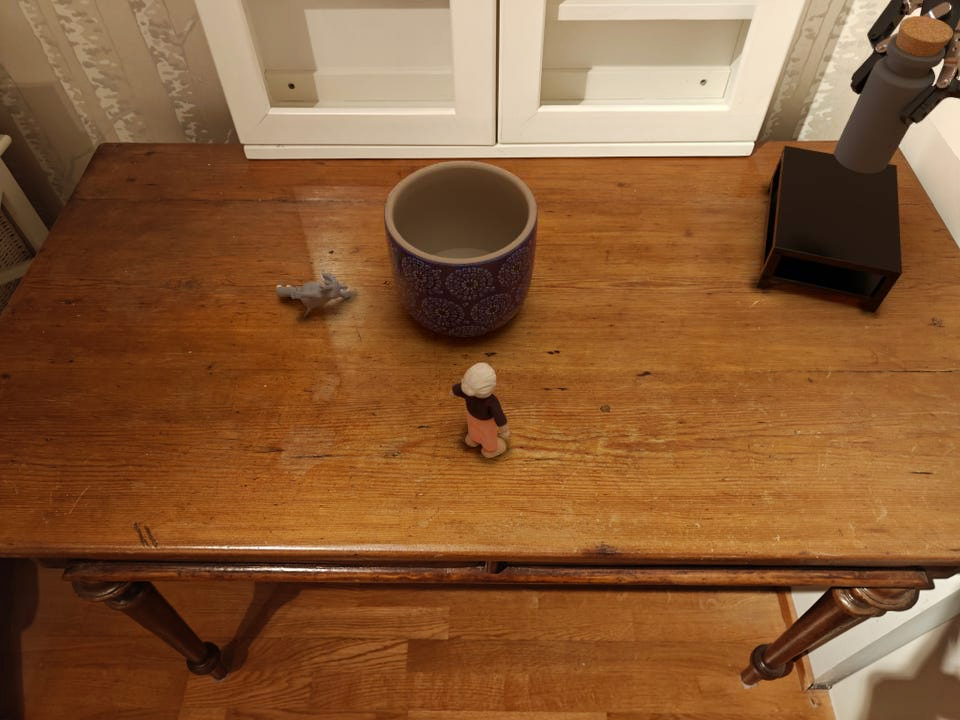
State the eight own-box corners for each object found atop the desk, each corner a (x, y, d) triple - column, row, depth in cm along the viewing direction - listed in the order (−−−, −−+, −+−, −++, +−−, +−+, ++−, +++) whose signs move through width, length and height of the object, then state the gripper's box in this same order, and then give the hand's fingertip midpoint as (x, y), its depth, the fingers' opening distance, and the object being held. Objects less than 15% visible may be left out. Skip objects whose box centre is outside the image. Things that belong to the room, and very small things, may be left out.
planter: (534, 354, 81) (543, 263, 69) (392, 355, 81) (376, 265, 69) (528, 252, 91) (534, 158, 79) (401, 253, 91) (388, 159, 79)
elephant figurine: (313, 268, 90) (366, 270, 85) (312, 314, 91) (366, 319, 86) (250, 266, 81) (306, 269, 77) (250, 317, 82) (306, 323, 77)
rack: (872, 206, 96) (897, 165, 90) (874, 313, 84) (902, 273, 79) (767, 187, 98) (784, 145, 93) (755, 287, 87) (774, 247, 81)
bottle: (834, 170, 78) (898, 40, 66) (832, 138, 81) (891, 9, 69) (890, 177, 77) (965, 47, 65) (885, 145, 80) (955, 15, 68)
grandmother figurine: (521, 441, 74) (527, 372, 64) (504, 469, 72) (506, 402, 62) (460, 410, 77) (455, 339, 66) (441, 437, 75) (433, 367, 64)
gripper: (953, -96, 67) (817, 56, 73) (1097, -36, 60) (932, 128, 66) (960, -51, 73) (833, 87, 79) (1091, 9, 66) (940, 156, 72)
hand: (879, 105), depth 72 cm, fingers closed on bottle, 6 cm apart
